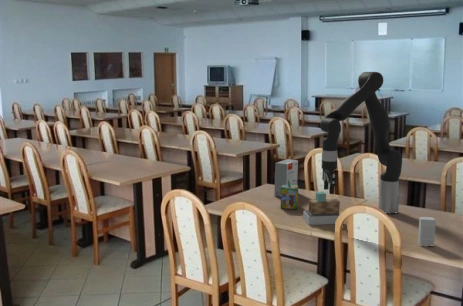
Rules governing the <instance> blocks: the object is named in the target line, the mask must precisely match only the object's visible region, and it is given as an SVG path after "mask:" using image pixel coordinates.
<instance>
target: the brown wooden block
mask: <svg viewBox="0 0 463 306" xmlns="http://www.w3.org/2000/svg"><path fill="white" fill-rule="evenodd" d="M340 205H341V202H340V200H339V199H338V198H326V202H318V201H316V198H315V199H309V200H308V210H309V212H310V213H311V214H333V213H338V214H340V208H341V207H340Z"/></svg>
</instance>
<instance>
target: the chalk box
mask: <svg viewBox="0 0 463 306" xmlns="http://www.w3.org/2000/svg"><path fill="white" fill-rule="evenodd" d="M298 207H299V185H298V184H297V185H290V183H289V180H288V185H282V187H281V197H280V209H281V210H284V209H285V210H288V209H289V210H298Z"/></svg>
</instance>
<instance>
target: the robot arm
mask: <svg viewBox="0 0 463 306" xmlns="http://www.w3.org/2000/svg"><path fill="white" fill-rule="evenodd" d="M357 81H358V82H357V84H358V87H359V89H358V90H357V91H356V92H354V93H352V94H351V95H349V96H347V98H345V99H344V100H343V101H342V102H341V103H340V104H339V105H338V106H337V107H336V108H335V109H334V110H332V111H331V112H329V113H328V114H327V115H325V116H324V117H323V118H322V119H321V120H320V123H319V126H320V128H319V129H320V130H321V131H322V132H324V133H327V136H326V137H324V138H323V139H322V152H321V169H322V174H321V175H322V177H321V179H322V181H323V190H325V191H326V190H327V191H329V192H328V193H329V195H334V194H335V187H337V173H335V171H336V170H337V169H338V157H339V156H338V141H339V137H340V134H341V130H342V124H341V121H343V122H344V121H345V120H347V119H348V118H349V117H350V115H352V113H353V112H354V111H356V109H357V108H358V107H359V106H360V105H362V104H363V103H364V104H365V106H366V107H365V108H366V112H367V115H368V120H369V122H370V126H371V129H372V133H373V138H374V142H375V147H376V152H377V153H376V154H377V159H378V162H379V163H380V165H382V166H384V167H385V172H383V173H380V177H379V194H378V195H379V196H378V208H379V209H381V210H383V211H384V212H386V213H395V212H398V213H399V209H400V208H399V207H400V206H399V205H400V195H399V181H400V178H401V174H402V166H403V155H402V153H401V152H400V151H398V150H396V149H392V148H391V145H390V141H389V134H390V130H391V122H390V121H391V120H390V118H389V114H388V110H386V108H385V106H384V105H383V104H382V102H381V101H380V100H379V98H378V96H377V94H376V92H378V90H379V89H380V88H381V87H382V86H383V84H384V76H383V74H382V73H380V72H378V71H364V72H361V73H360V74H359V76H358V80H357Z"/></svg>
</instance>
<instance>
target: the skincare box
mask: <svg viewBox="0 0 463 306" xmlns="http://www.w3.org/2000/svg"><path fill="white" fill-rule="evenodd" d="M418 218H419V221H418V235H417V236H418V238H417V243H418V242H419V244H421V245H434V246H435V240H436V238H435V237H436V224H437V220H436V219H435V217H432V216H430V217H429V216H419V217H418ZM419 244H418V245H419Z"/></svg>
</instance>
